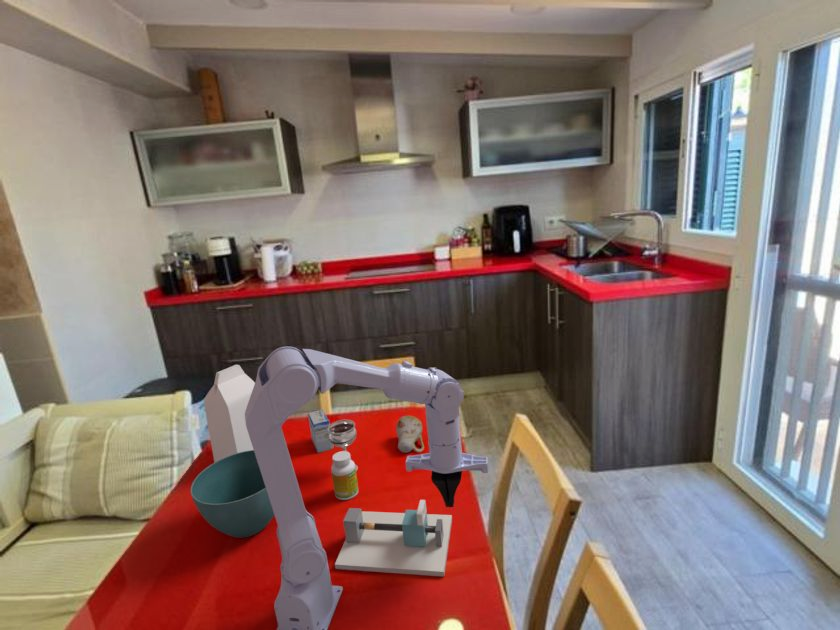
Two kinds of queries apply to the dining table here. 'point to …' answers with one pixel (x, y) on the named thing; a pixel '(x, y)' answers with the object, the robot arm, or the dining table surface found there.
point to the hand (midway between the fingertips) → (450, 503)
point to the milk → (228, 412)
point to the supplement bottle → (344, 476)
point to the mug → (409, 433)
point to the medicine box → (320, 431)
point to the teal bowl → (233, 495)
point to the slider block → (415, 526)
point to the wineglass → (342, 434)
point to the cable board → (392, 544)
